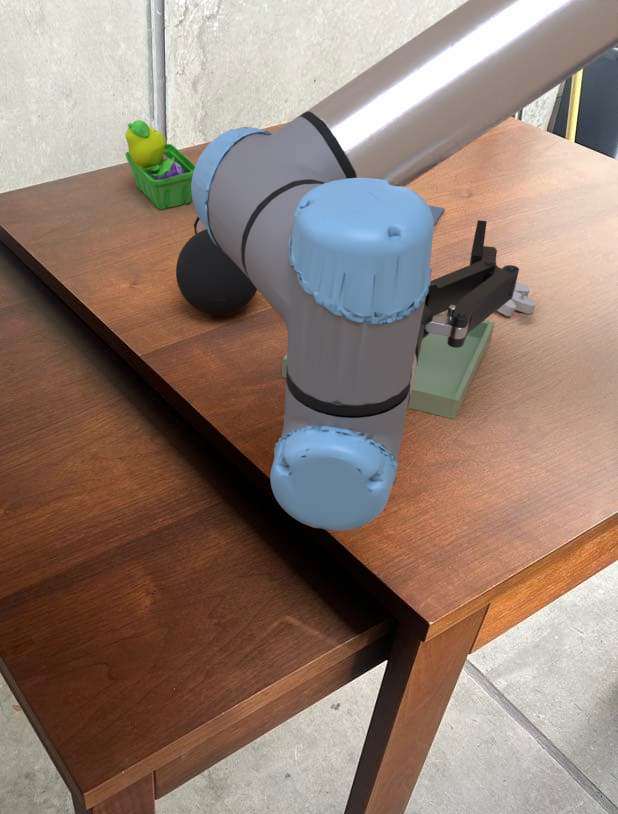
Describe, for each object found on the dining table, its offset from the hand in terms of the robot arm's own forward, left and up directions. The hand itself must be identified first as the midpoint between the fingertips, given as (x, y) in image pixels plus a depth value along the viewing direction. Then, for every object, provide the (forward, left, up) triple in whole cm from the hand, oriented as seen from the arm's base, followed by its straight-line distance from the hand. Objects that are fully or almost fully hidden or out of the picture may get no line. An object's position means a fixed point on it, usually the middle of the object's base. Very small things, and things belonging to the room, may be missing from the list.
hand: (400, 227), depth 77 cm
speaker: (+24, -12, -20) cm, 33 cm away
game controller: (-5, -26, -20) cm, 34 cm away
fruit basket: (+46, -37, -20) cm, 62 cm away
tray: (+2, -9, -20) cm, 22 cm away
